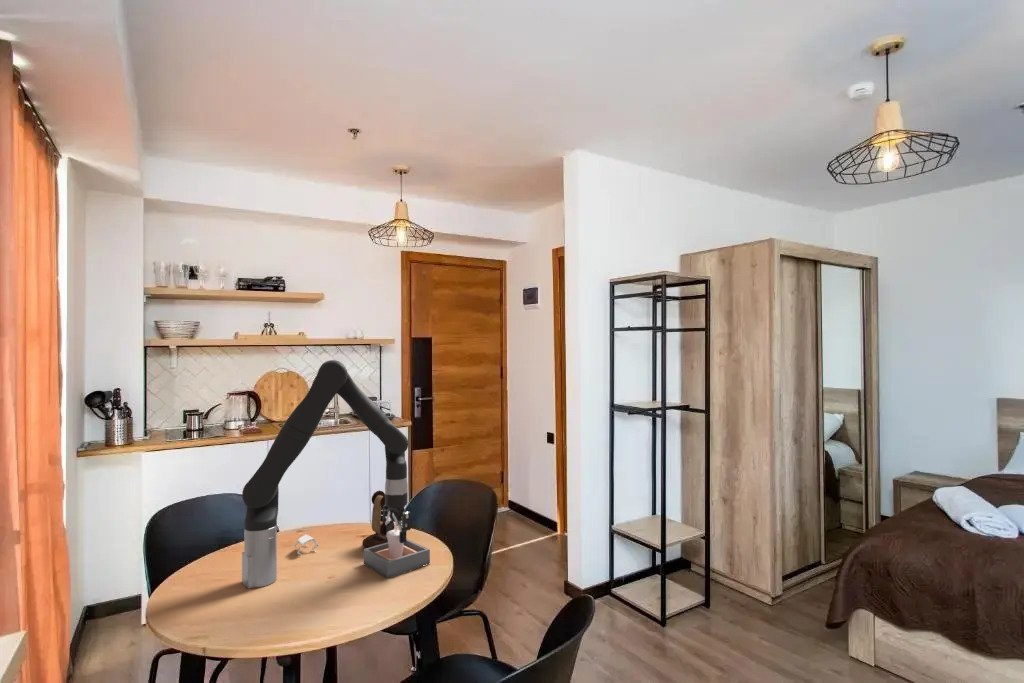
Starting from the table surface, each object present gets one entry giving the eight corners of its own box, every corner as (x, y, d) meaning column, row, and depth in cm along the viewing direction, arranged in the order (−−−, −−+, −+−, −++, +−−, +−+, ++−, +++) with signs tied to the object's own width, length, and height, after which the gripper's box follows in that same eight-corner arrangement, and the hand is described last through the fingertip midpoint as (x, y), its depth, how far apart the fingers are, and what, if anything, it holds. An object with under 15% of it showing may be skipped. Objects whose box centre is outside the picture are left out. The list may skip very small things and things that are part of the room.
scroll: (355, 546, 196) (355, 492, 196) (390, 536, 206) (390, 485, 206) (374, 557, 185) (374, 500, 185) (410, 547, 195) (410, 492, 195)
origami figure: (321, 554, 188) (321, 540, 188) (295, 559, 184) (295, 544, 184) (316, 544, 199) (316, 530, 199) (292, 548, 195) (292, 534, 195)
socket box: (387, 578, 167) (387, 562, 167) (363, 564, 179) (363, 549, 179) (429, 564, 178) (429, 549, 178) (404, 551, 190) (404, 537, 190)
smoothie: (407, 557, 182) (407, 516, 182) (403, 564, 176) (403, 522, 176) (388, 557, 182) (388, 516, 182) (384, 565, 175) (384, 522, 176)
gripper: (376, 489, 182) (375, 536, 181) (397, 497, 171) (397, 547, 171) (395, 485, 187) (395, 531, 187) (417, 493, 177) (417, 541, 176)
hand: (396, 539), depth 179 cm, fingers open, 8 cm apart
